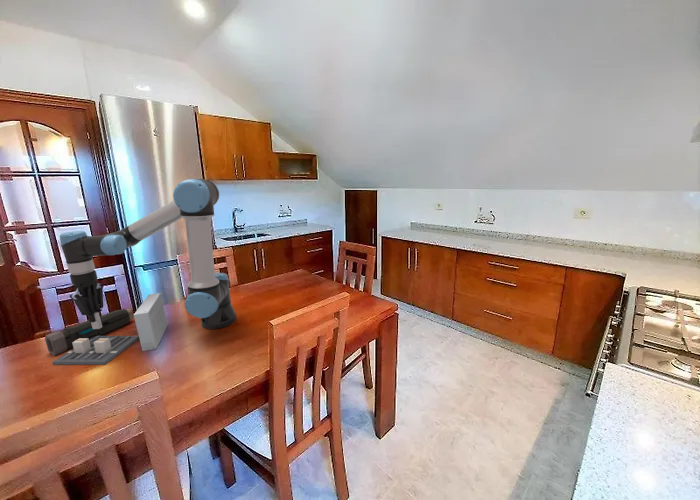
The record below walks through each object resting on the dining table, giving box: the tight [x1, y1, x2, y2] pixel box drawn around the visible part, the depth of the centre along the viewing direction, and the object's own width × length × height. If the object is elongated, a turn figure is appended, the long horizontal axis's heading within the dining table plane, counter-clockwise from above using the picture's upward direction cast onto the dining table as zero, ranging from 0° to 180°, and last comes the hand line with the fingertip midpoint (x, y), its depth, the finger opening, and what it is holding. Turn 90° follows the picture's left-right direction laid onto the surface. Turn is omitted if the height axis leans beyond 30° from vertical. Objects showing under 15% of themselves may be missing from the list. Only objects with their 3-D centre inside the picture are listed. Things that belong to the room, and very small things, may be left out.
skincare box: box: [133, 292, 169, 352], centre depth 124 cm, size 21×5×16 cm, turn 20°
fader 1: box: [72, 338, 91, 353], centre depth 113 cm, size 4×3×5 cm
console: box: [52, 335, 140, 366], centre depth 116 cm, size 19×18×2 cm
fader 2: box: [93, 338, 111, 353], centre depth 113 cm, size 4×3×5 cm
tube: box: [44, 307, 135, 356], centre depth 126 cm, size 11×7×30 cm
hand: (97, 327), depth 119 cm, fingers closed
